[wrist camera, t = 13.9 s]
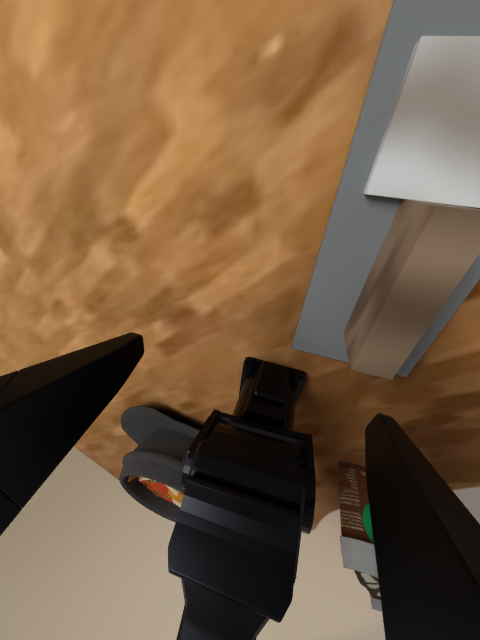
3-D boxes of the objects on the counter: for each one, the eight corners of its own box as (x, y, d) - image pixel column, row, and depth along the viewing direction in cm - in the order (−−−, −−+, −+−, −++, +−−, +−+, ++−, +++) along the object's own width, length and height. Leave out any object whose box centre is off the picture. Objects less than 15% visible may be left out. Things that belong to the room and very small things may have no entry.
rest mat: (404, 373, 20) (406, 377, 19) (291, 345, 22) (291, 348, 21) (733, -78, 8) (757, -93, 7) (411, -59, 9) (415, -70, 9)
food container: (408, 509, 30) (442, 630, 22) (359, 504, 33) (373, 610, 25) (389, 455, 26) (423, 582, 18) (334, 455, 29) (341, 564, 21)
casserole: (113, 417, 41) (73, 466, 34) (158, 378, 31) (113, 435, 24) (215, 490, 45) (197, 545, 39) (283, 476, 35) (276, 548, 28)
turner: (405, 346, 18) (428, 389, 14) (316, 326, 19) (317, 361, 16) (604, 46, 9) (799, -42, 5) (415, 44, 10) (470, -29, 7)
